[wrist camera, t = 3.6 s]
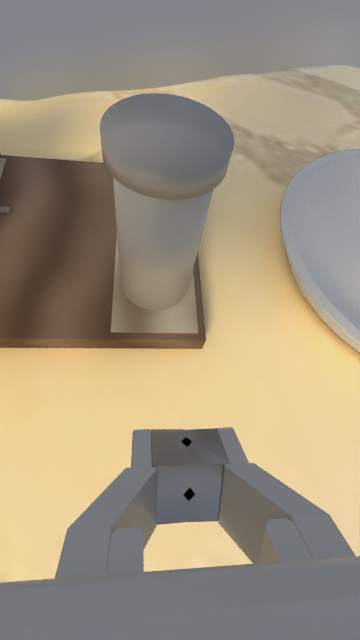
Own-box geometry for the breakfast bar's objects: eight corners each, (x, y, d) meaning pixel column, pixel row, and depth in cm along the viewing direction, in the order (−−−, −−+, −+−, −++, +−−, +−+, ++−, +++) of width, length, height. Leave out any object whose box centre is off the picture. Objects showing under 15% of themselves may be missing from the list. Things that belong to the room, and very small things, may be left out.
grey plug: (112, 314, 22) (94, 169, 12) (116, 248, 25) (104, 87, 15) (196, 316, 23) (242, 180, 13) (191, 251, 26) (225, 100, 16)
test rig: (-149, 346, 21) (-214, 311, 17) (-63, 165, 30) (-93, 114, 26) (201, 348, 24) (214, 319, 20) (187, 182, 32) (194, 139, 29)
